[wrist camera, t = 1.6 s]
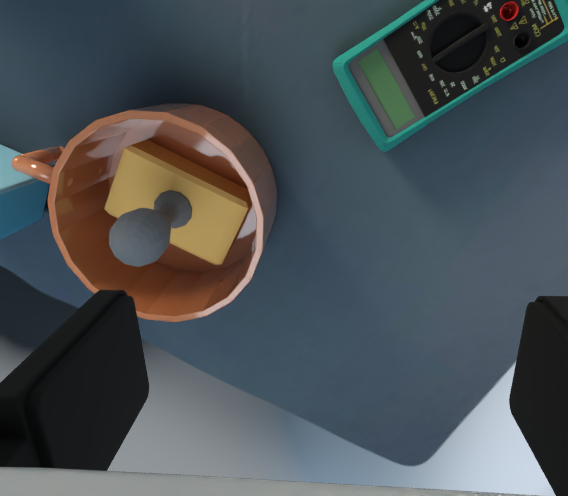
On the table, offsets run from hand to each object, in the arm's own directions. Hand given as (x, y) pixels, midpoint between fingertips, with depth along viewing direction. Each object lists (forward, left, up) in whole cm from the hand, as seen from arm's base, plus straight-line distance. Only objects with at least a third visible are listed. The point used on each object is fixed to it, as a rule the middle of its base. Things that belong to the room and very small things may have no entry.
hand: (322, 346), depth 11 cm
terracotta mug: (-11, -7, -26) cm, 29 cm away
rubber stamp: (-9, -7, -26) cm, 28 cm away
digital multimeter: (+5, +10, -26) cm, 28 cm away
